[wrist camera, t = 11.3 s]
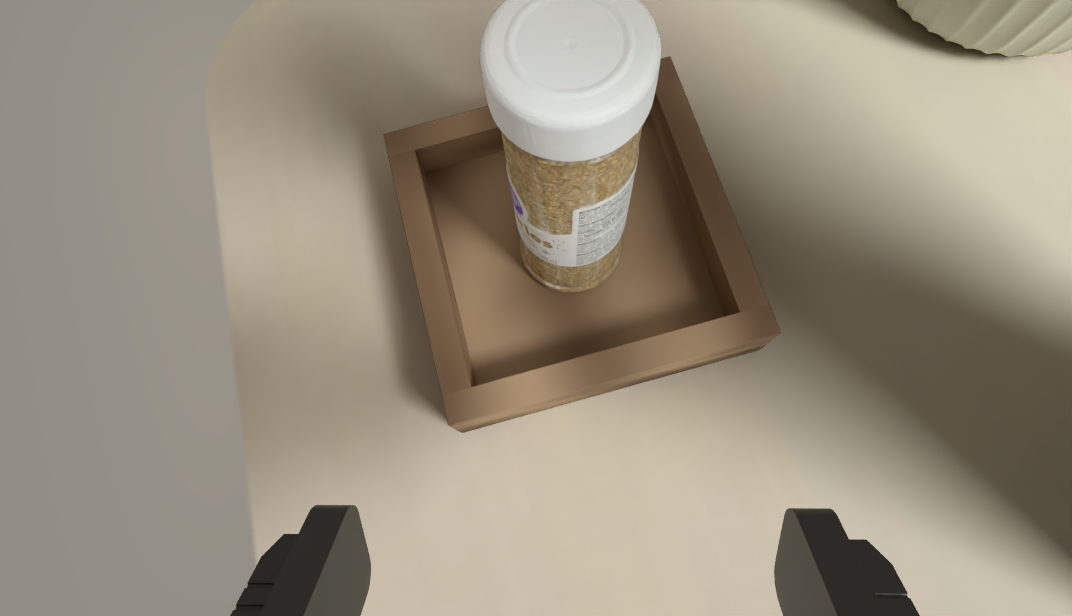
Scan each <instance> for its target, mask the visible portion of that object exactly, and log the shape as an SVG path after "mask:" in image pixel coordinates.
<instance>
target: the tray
mask: <svg viewBox="0 0 1072 616" xmlns="http://www.w3.org/2000/svg"><path fill="white" fill-rule="evenodd" d="M383 135H384V139H385V143H386V148H387V152H388V157H389V161H390V166H391V170H392V175H393V179H394V184H395V188H396V193H397V197H398V202H399V206H400V211H401V215H402V219H403V224H404V228H405V233H406V237H407V242H408V246H409V251H410V255H411V260H412V264H413V269H414V273H415V278H416V282H417V287H418V291H419V296H420V300H421V304H422V309H423V313H424V318H425V322H426V327H427V331H428V336H429V340H430V345H431V349H432V354H433V358H434V363H435V367H436V372H437V376H438V380H439V385H440V389H441V394H442V398H443V403H444V407H445V412H446V416H447V421H448V425H449V426H451V427H453V428H454V429H456V430H458V431H460V432H462V433H463V432H467V431H470V430H474V429H478V428H481V427H485V426H488V425H492V424H495V423H499V422H503V421H506V420H510V419H513V418H517V417H521V416H524V415H528V414H531V413H535V412H538V411H542V410H546V409H549V408H553V407H556V406H560V405H563V404H567V403H571V402H574V401H578V400H581V399H585V398H589V397H592V396H596V395H599V394H603V393H606V392H610V391H614V390H617V389H621V388H624V387H628V386H632V385H635V384H639V383H642V382H646V381H649V380H653V379H657V378H660V377H664V376H667V375H671V374H675V373H678V372H682V371H685V370H689V369H692V368H696V367H700V366H703V365H707V364H710V363H714V362H717V361H721V360H725V359H728V358H732V357H735V356H739V355H743V354H746V353H750V352H753V351H757V350H760V349H761V348H762V347H764V346H765V345H766V344H767V343H769V342H770V341H771V340H772V339H773V338H775V337H776V336H777V335H778V334H780V333H781V332H780V329H779V327H778V324H777V322H776V319H775V317H774V314H773V312H772V309H771V307H770V304H769V302H768V299H767V297H766V294H765V292H764V289H763V287H762V284H761V282H760V279H759V277H758V274H757V272H756V269H755V267H754V264H753V262H752V259H751V257H750V255H749V252H748V250H747V247H746V245H745V242H744V240H743V237H742V235H741V232H740V230H739V227H738V225H737V222H736V220H735V217H734V215H733V212H732V210H731V207H730V205H729V202H728V200H727V197H726V195H725V192H724V190H723V187H722V185H721V182H720V180H719V177H718V175H717V172H716V170H715V167H714V165H713V162H712V160H711V157H710V155H709V152H708V150H707V147H706V145H705V142H704V140H703V137H702V135H701V132H700V130H699V127H698V125H697V122H696V120H695V117H694V115H693V112H692V110H691V107H690V105H689V102H688V100H687V97H686V95H685V92H684V90H683V87H682V85H681V82H680V80H679V77H678V75H677V72H676V70H675V67H674V65H673V62H672V60H671V57H666V58H662V59H661V60H660V67H659V74H658V80H657V86H656V91H655V95H654V100H653V104H652V107H651V110H650V112H649V115H648V116H647V118H646V120H645V122H644V124H643V126H642V129H641V136H640V140H639V155H638V161H637V167H636V172H635V177H634V182H633V188H632V193H631V198H630V203H629V208H628V213H627V218H626V223H625V227H624V230H623V233H622V235H621V244H622V246H621V252H620V258H619V262H618V264H617V266H616V267H615V269H614V271H613V272H612V273H611V274H610V275H609V277H608V278H607V279H606V280H605V281H603V282H601V283H600V284H599V285H597V286H596V287H595V288H592V289H588V290H585V291H579V292H560V291H557V290H553V289H550V288H548V287H546V286H545V285H543V284H542V283H540V282H539V281H537V280H536V279H535V278H534V277H533V276H532V275H531V274H530V272H529V271H528V270H527V268H526V267H525V265H524V262H523V259H522V256H521V252H520V239H521V237H520V233H519V231H518V227H517V223H516V217H515V211H514V204H513V199H512V194H511V189H510V184H509V179H508V174H507V168H506V162H507V161H506V158H505V151H504V145H503V140H502V133H501V130H500V129H499V127H498V126H497V125H496V123H495V121H494V119H493V117H492V115H491V112H490V109H489V106H486V107H482V108H478V109H475V110H471V111H467V112H464V113H460V114H456V115H453V116H449V117H445V118H442V119H438V120H434V121H431V122H427V123H423V124H420V125H416V126H412V127H409V128H405V129H401V130H398V131H394V132H390V133H387V134H383Z"/></svg>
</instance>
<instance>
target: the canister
mask: <svg viewBox="0 0 1072 616" xmlns="http://www.w3.org/2000/svg"><path fill="white" fill-rule="evenodd" d="M896 1H897V4H898V7H899V8H901V9H903V10H905V11H906V12H907V13H908V14H909V15H910V16H911V18H912V20H913V21H916V22H919V23H920V24H922V25H923V26H924V27H925V28H927V31H928V32H933V33H935V34H937V35H939V36H941V37H943V38H944V39H945V41H951V42H955V43H958V44H960V45H962V46H963V47H964V48H965V49H970V48H971V49H977V50H980V51H982V52H984V53H985V54H991V53H999V54H1002V55H1005V56H1008V57H1012V56H1017V55H1024V56H1028V57H1034V56H1040V55H1043V54H1058V53H1063V52H1066V51H1069V50H1072V0H896Z"/></svg>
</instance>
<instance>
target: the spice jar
mask: <svg viewBox="0 0 1072 616" xmlns="http://www.w3.org/2000/svg"><path fill="white" fill-rule="evenodd" d="M660 60H661V43H660V37H659V33H658V30H657V27H656V24H655V22H654V20H653V17H652V16H651V14H650V13H649V11H648V10H647V9H646V7H645V6H644V5H643V4H642V3H641V1H640V0H505V1H504V2H503V3H502V4H501V5H500V6H499V7H498V8H497V9H496V11H495V12H494V14H493V15H492V16H491V18H490V20H489V21H488V24H487V26H486V28H485V31H484V34H483V38H482V41H481V47H480V65H481V72H482V78H483V84H484V90H485V94H486V98H487V102H488V106H489V109H490V112H491V115H492V117H493V119H494V121H495V123H496V125H497V126H498V127H499V129H500V130H501V133H502V140H503V145H504V151H505V158H506V161H507V162H506V168H507V174H508V179H509V184H510V189H511V194H512V199H513V204H514V211H515V217H516V223H517V227H518V231H519V233H520V237H521V239H520V252H521V256H522V259H523V262H524V265H525V267H526V268H527V270H528V271H529V272H530V274H531V275H532V276H533V277H534V278H535V279H536V280H537V281H539V282H540V283H542V284H543V285H545V286H546V287H548V288H550V289H553V290H557V291H560V292H579V291H585V290H588V289H592V288H595V287H596V286H597V285H599V284H600V283H601V282H603V281H605V280H606V279H607V278H608V277H609V275H610V274H611V273H612V272H613V271H614V269H615V267H616V266H617V264H618V262H619V258H620V252H621V246H622V244H621V235H622V233H623V230H624V227H625V223H626V218H627V213H628V208H629V203H630V198H631V193H632V188H633V182H634V177H635V172H636V167H637V161H638V155H639V140H640V136H641V129H642V126H643V124H644V122H645V120H646V118H647V116H648V115H649V112H650V110H651V107H652V104H653V100H654V95H655V91H656V86H657V80H658V74H659V67H660Z"/></svg>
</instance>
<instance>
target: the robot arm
mask: <svg viewBox="0 0 1072 616" xmlns="http://www.w3.org/2000/svg"><path fill="white" fill-rule="evenodd" d="M370 576H371V563H370V557H369V552H368V548H367V544H366V540H365V536H364V532H363V528H362V524H361V520H360V516H359V512H358V509H357V507H356V506H354V505H315V506H314V507H313V508H312V509H311V510H310V512H309V514H308V516H307V518H306V520H305V522H304V524H303V526H302V528H301V530H300V532H299V534H284V535H283V536H282V537H281V538H280V539H279V540H278V541H277V542H276V543H275V544H274V545H273V546H272V547H271V548H270V549H269V550H268V551H267V552H266V553H265V554H264V555H263V556H262V557H261V558H260V560H259V562H258V564H257V566H256V568H255V570H254V572H253V574H252V576H251V577H250V579H249V582H248V587H247V588H245V589H244V591H243V593H242V595H241V596H240V598H239V600H238V602H237V604H236V610H233V612H232V614H231V615H230V616H360V615H361V612H362V609H363V606H364V603H365V600H366V597H367V593H368V589H369V584H370ZM774 576H775V586H776V592H777V597H778V601H779V604H780V607H781V610H782V613H783V616H920V615H919V614H918V612H917V610H916V608H915V606H914V604H913V603H912V601H911V599H910V598H908V596H907V591H906V590H905V588H904V586H903V584H902V582H901V580H900V578H899V577H898V575H897V573H896V571H895V569H894V567H893V565H892V564H891V563H890V562H889V561H888V560H887V559H886V558H885V557H884V556H883V555H882V554H881V553H880V552H879V551H878V550H877V549H876V548H875V547H874V546H873V545H871V544H870V543H869V542H868V541H867V540H849V539H848V537H847V535H846V533H845V531H844V529H843V527H842V524H841V522H840V520H839V518H838V516H837V515H836V513H835V512H834V511H833V510H832V509H795V508H789V509H787V510H786V512H785V515H784V520H783V525H782V530H781V535H780V540H779V546H778V551H777V556H776V561H775V569H774Z"/></svg>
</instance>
